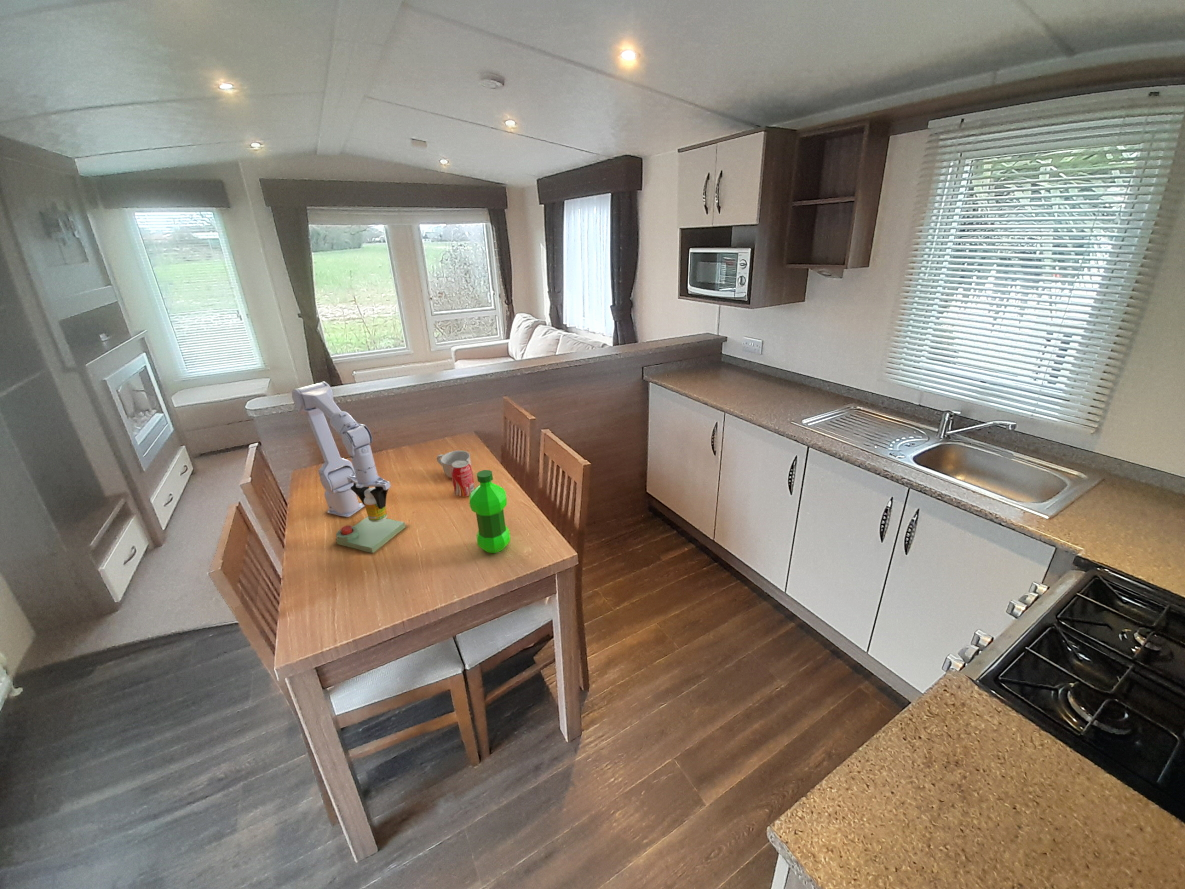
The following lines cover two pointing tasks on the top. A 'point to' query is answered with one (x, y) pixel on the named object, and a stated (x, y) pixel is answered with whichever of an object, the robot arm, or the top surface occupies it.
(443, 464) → the teacup
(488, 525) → the plastic bottle
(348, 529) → the button
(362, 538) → the scale
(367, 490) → the supplement bottle
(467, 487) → the soda can
